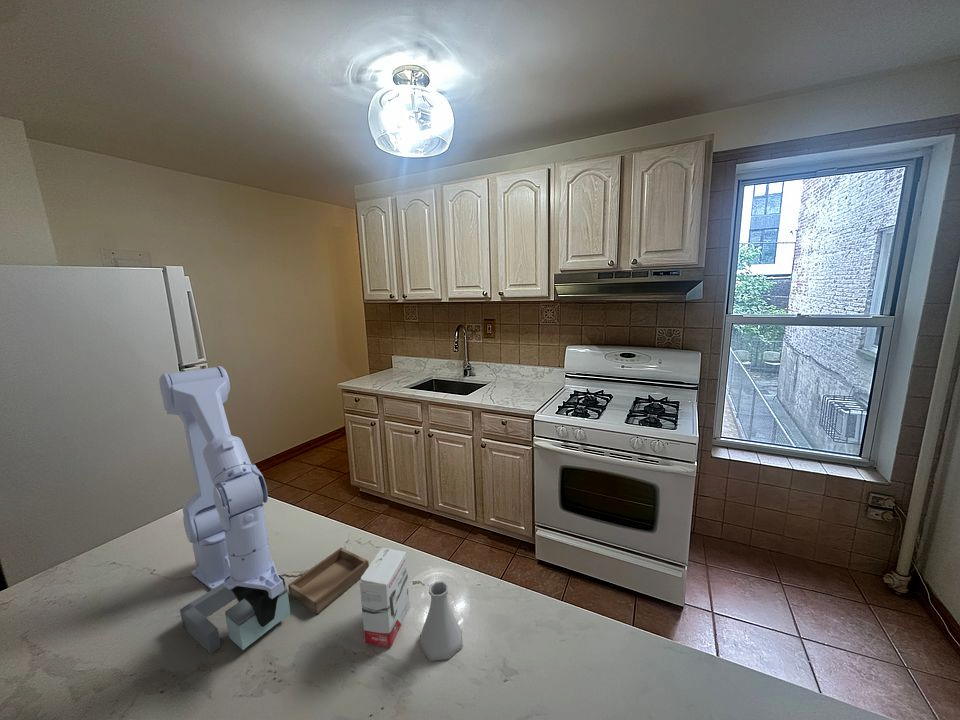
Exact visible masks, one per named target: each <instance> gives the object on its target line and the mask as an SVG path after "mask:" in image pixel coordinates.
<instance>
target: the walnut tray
mask: <svg viewBox="0 0 960 720" xmlns="http://www.w3.org/2000/svg"><path fill="white" fill-rule="evenodd" d="M369 565H370V562H369V560H368V559H366V558H363V557H361V556H359V555H357V554H355V553H353V552H351V551H349V550H347V549H345V548H343V547H340V548H338V549H336V550H335V551H333V552H332V553H331V554H330V555H328V556H327V557H326V558H324V559H323V560H321V561H320V562H319V563H316V565H314V566H313V567H311V568H310V569H309V570H307V571H306V572H304V573H303V574H301V576H299V577H297V578H296V579H295V580H293V581H291V583H289V584H287V586H288V588H287V589H288V596H289V598H291V599H293V600H294V601H296V602H297V603H299V604H300V605H302V606H303V607H305V608H307V609H308V610H309V611H311V612H312V613H314V614H315V615H317V616H318V615H320V614H321V613H322V612H323V611H324V610H325V609H327V608H328V607H330V605H331V604H333V603H334V602H335V601H336V600H337V599H338V598H340V597H341V596H342V595H344V594H345V593H346V592H347V591H348V590H349V589H351V588H352V587H353V586H354V585H356V583H358V581H359V582H360V581H361V576H362V575H363V574H364V572H365V571H366V569H367V568H368V567H369Z"/></svg>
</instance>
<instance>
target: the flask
mask: <svg viewBox="0 0 960 720" xmlns="http://www.w3.org/2000/svg"><path fill="white" fill-rule="evenodd" d="M428 587H429V588H428V594H429V596H430V606H429V610H428V612H427V615H426V619H425V621H424V624H423V627H422V630H421V633H420V644H419V649H420V650H421V652H422V653H423V654H424V655H425V657H426V658H427V659H428V661H430V662H432V661H433V662H434V661H441V660H449V659H450V658H452V656H454V655H455V654H456V653H458V651H460V650H461V649H462V648H463V631H462V628H461V626H460V625H459V623H458V620H457V619H456V617H455V615H454V612H453V611H452V608H451V606H450V602H449V600H448V594H449V585H448V584H447V582H445V581H444V580H437V581H434V582H433V583H431V584H430V585H429V586H428Z"/></svg>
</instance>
